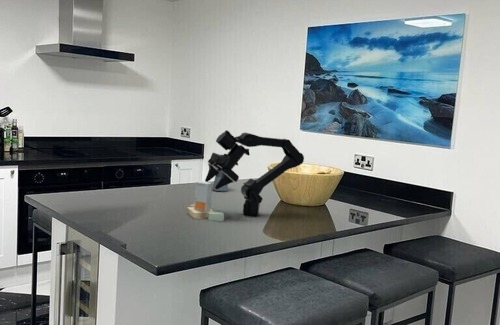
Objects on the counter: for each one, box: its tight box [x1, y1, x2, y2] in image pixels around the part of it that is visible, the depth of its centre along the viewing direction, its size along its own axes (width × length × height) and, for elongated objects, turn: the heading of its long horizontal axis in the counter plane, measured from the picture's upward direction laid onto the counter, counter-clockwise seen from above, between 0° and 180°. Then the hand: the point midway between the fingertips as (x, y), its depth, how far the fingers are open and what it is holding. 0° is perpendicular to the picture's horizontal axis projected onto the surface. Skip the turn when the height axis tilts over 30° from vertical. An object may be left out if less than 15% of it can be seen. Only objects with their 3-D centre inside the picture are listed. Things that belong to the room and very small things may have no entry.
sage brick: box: [207, 211, 225, 222], centre depth 205 cm, size 6×3×3 cm, turn 102°
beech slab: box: [186, 206, 217, 220], centre depth 210 cm, size 10×10×2 cm
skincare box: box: [193, 180, 214, 212], centre depth 209 cm, size 6×4×12 cm
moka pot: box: [212, 170, 229, 193], centre depth 269 cm, size 10×15×20 cm, turn 148°
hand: (210, 185), depth 210 cm, fingers open, 9 cm apart
